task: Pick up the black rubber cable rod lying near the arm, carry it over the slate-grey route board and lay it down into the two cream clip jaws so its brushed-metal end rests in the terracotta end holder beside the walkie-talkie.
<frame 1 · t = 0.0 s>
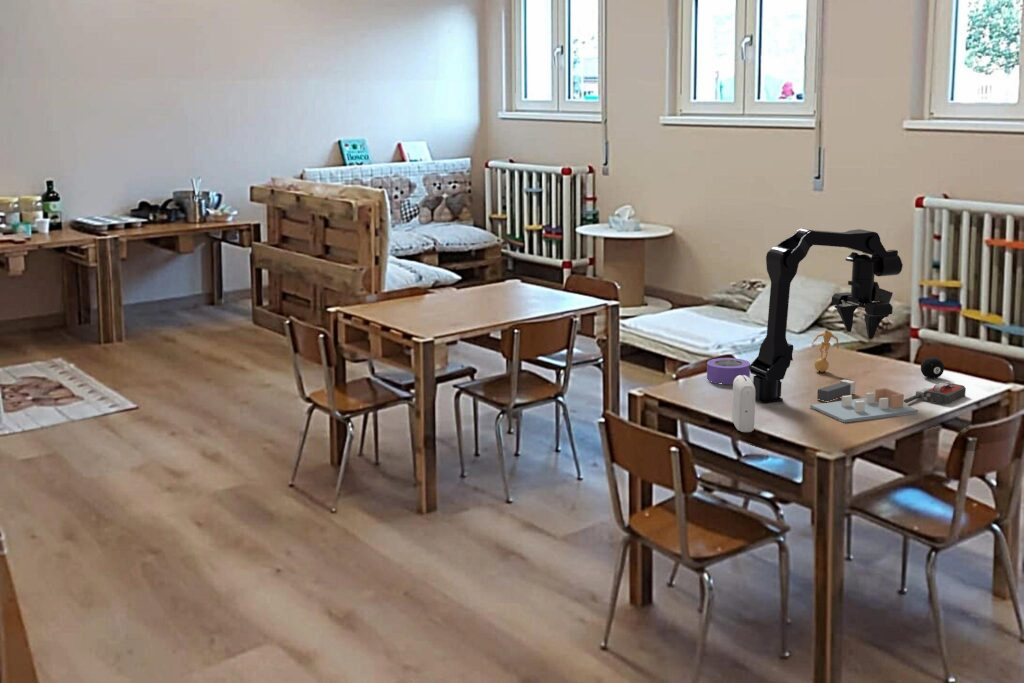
hand: (859, 335, 303), 15 cm above the table, tool pointing down, fingers open, 9 cm apart
figurine: (823, 371, 324), on the table
cable rod: (835, 397, 298), on the table
tape roll: (728, 380, 317), on the table
route board: (863, 410, 286), on the table
end holder: (888, 407, 288), resting on route board
photo printer: (742, 427, 274), on the table
billiard ball: (931, 378, 316), on the table
walkie-talkie: (935, 401, 295), on the table
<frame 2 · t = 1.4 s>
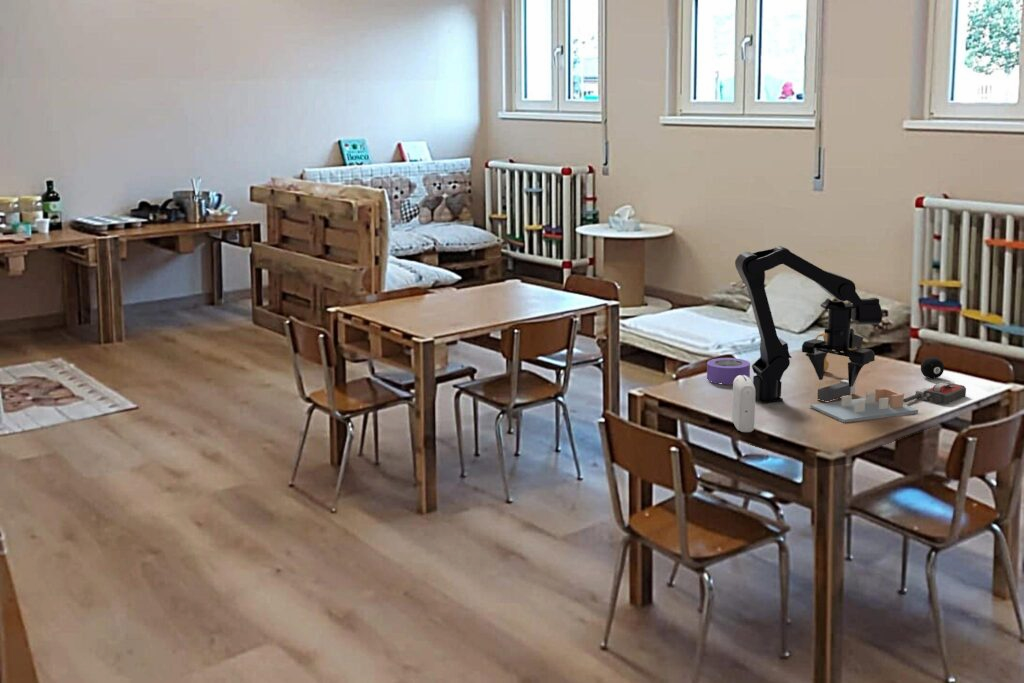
hand: (835, 383, 297), 4 cm above the table, tool pointing down, fingers open, 9 cm apart
nothing on the table moved.
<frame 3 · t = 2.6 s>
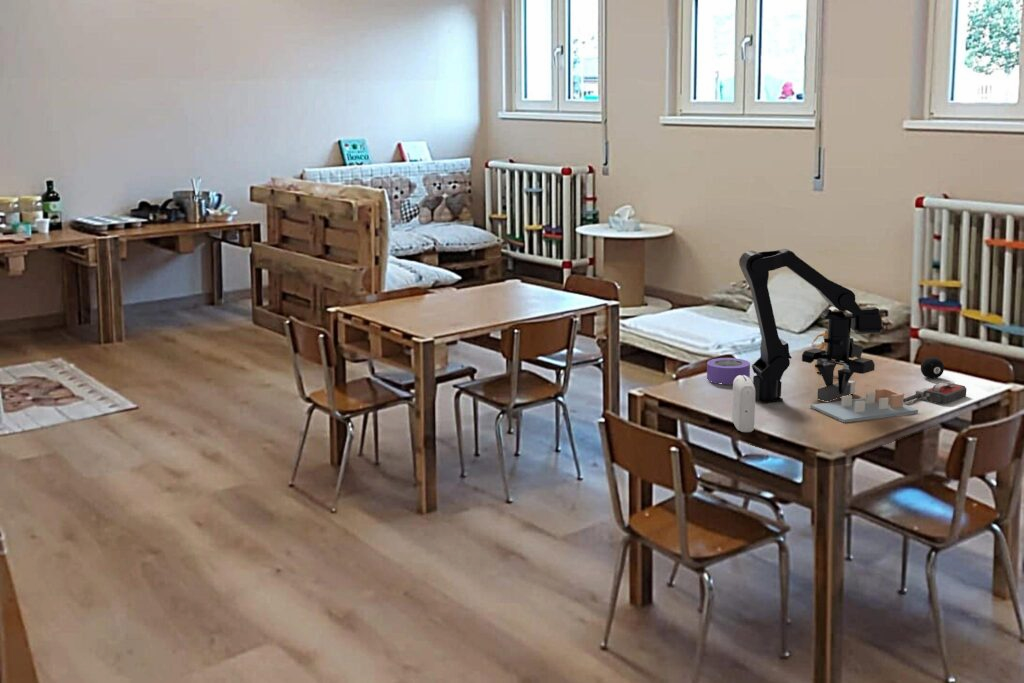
hand: (835, 392, 298), 1 cm above the table, tool pointing down, fingers closed on cable rod, 3 cm apart
cable rod: (835, 397, 298), on the table, touching gripper
everything else where it was.
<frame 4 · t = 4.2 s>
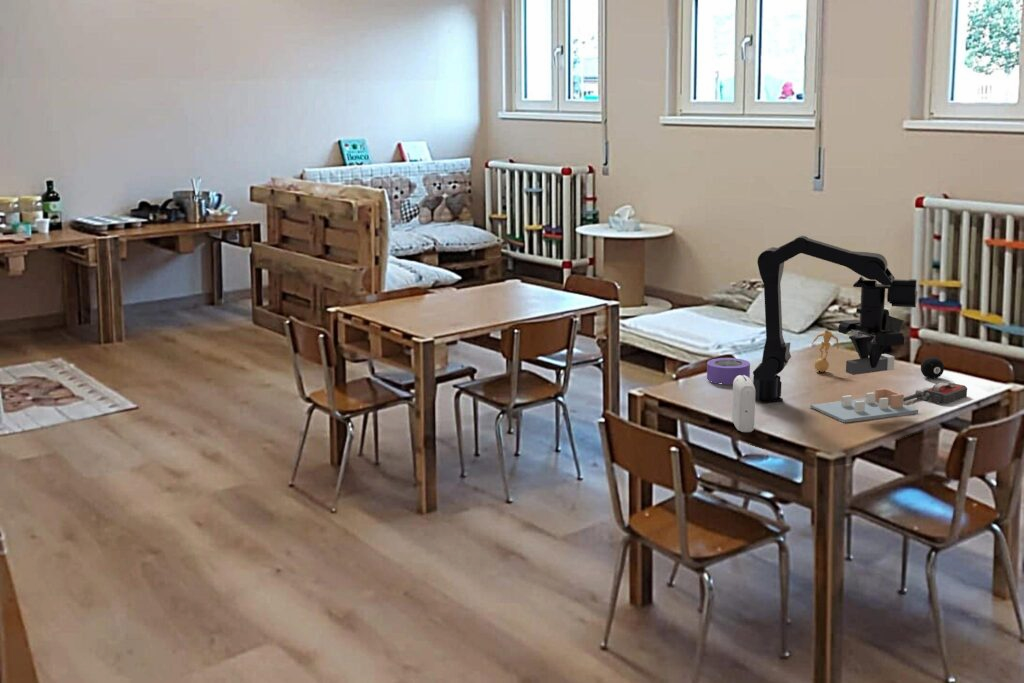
hand: (869, 366, 284), 11 cm above the table, tool pointing down, fingers closed on cable rod, 3 cm apart
cable rod: (869, 370, 285), point 10 cm above the table, touching gripper
everything else where it was.
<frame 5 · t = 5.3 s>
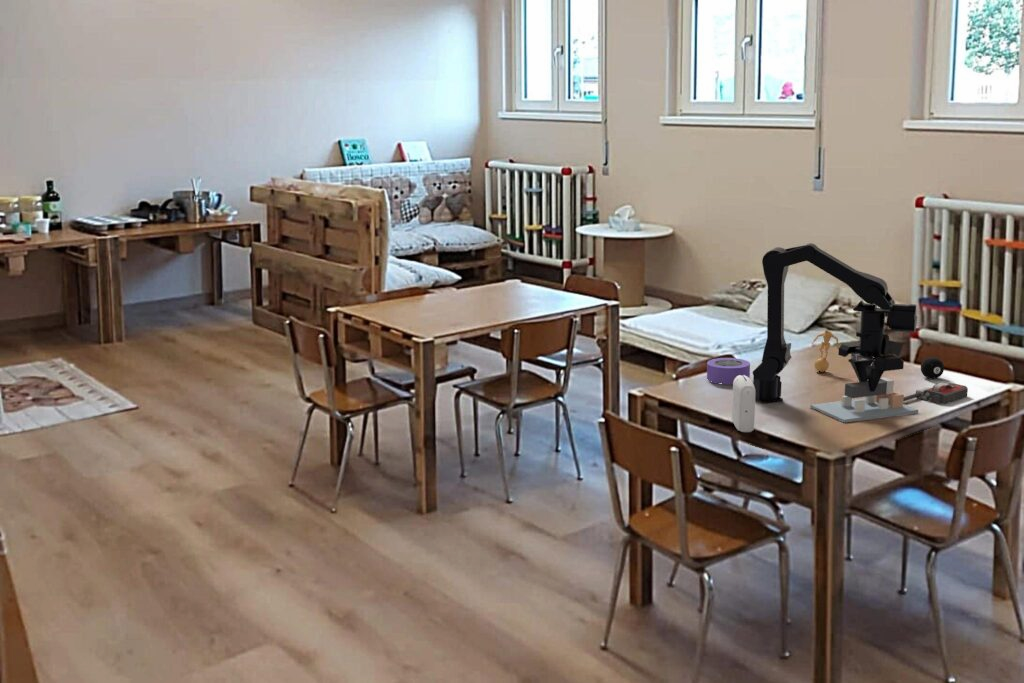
hand: (868, 389, 285), 5 cm above the table, tool pointing down, fingers closed on cable rod, 3 cm apart
cable rod: (868, 394, 285), point 4 cm above the table, touching gripper
everything else where it was.
when the fingers open (3 cm above the table, at t = 6.0 s): cable rod stays where it is, resting on route board.
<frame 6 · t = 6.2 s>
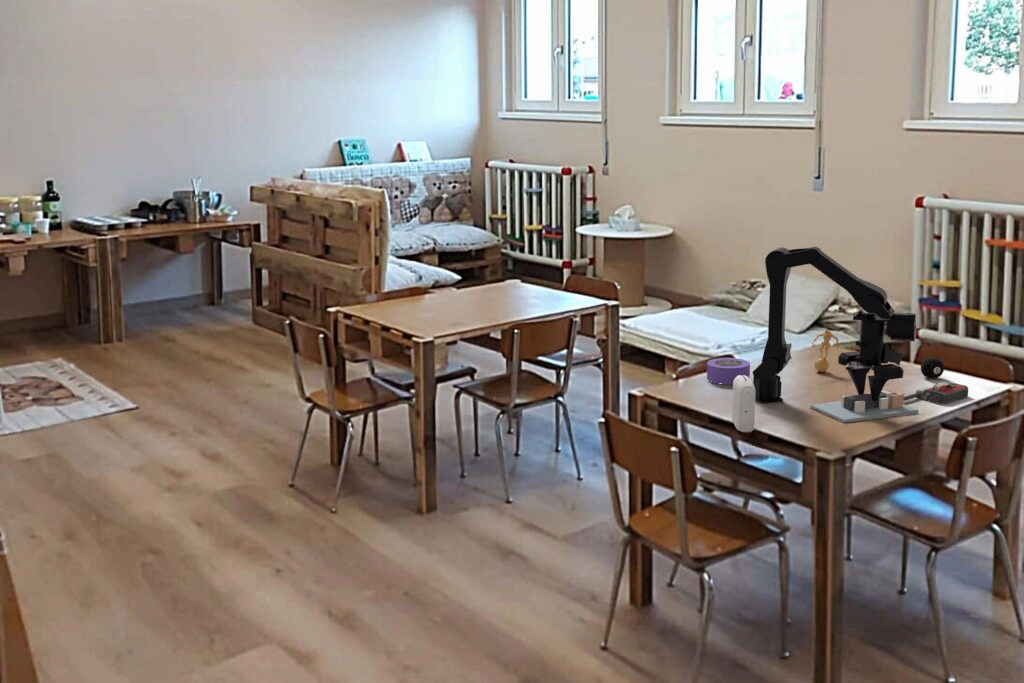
hand: (868, 398, 286), 3 cm above the table, tool pointing down, fingers open, 5 cm apart
cable rod: (867, 406, 286), point 1 cm above the table, touching route board
everything else where it was.
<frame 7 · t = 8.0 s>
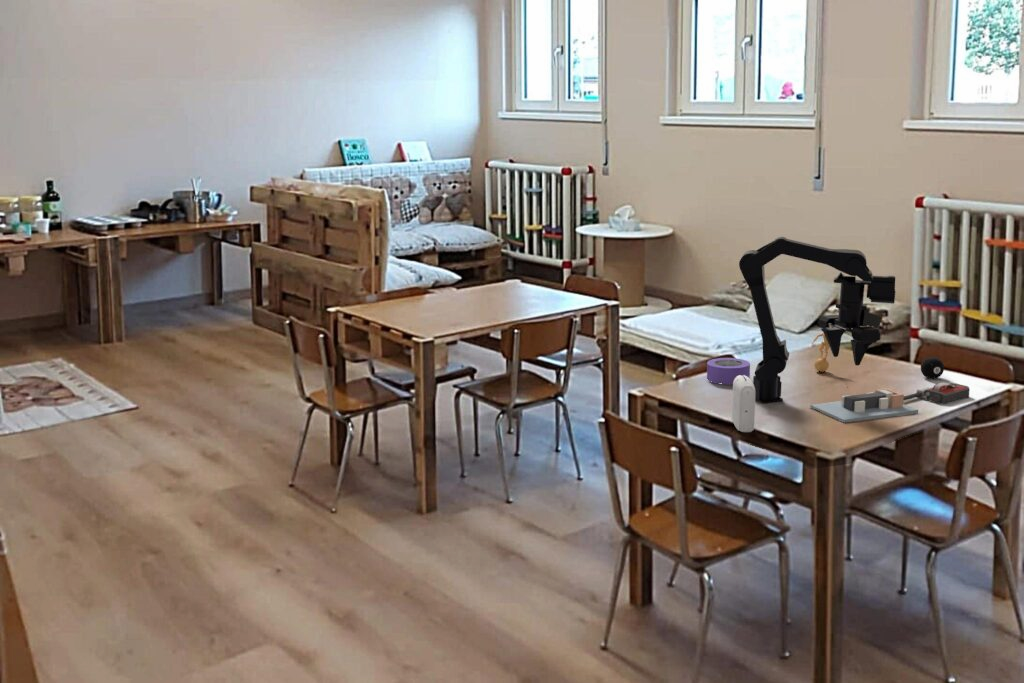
hand: (846, 360, 289), 12 cm above the table, tool pointing down, fingers open, 9 cm apart
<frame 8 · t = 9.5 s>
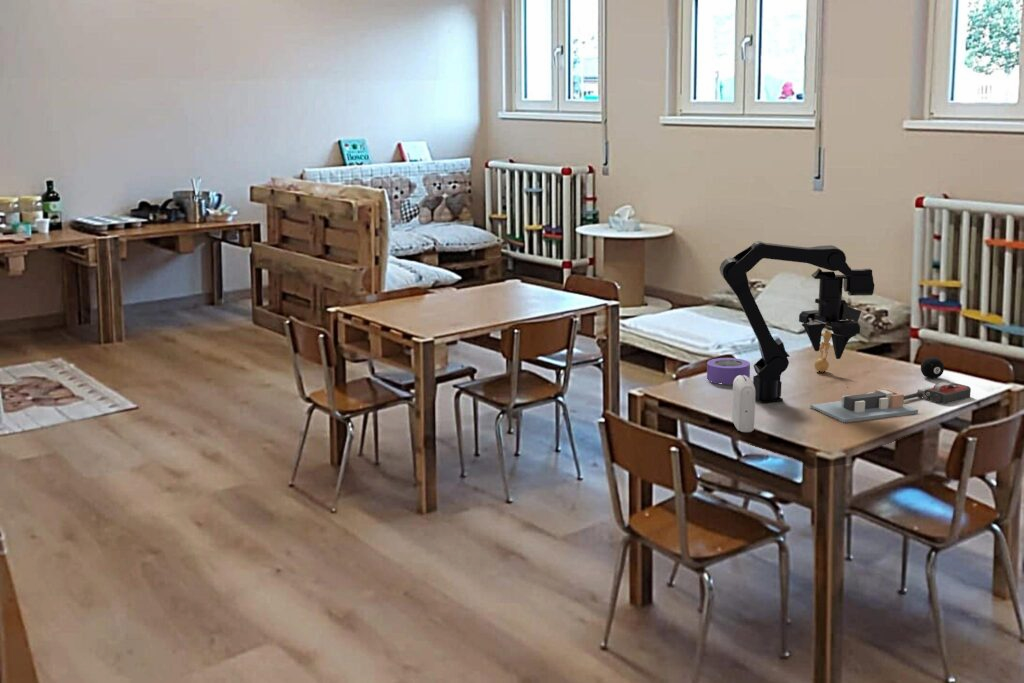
hand: (827, 354, 293), 12 cm above the table, tool pointing down, fingers open, 9 cm apart
at the end: cable rod 0.1 cm from the target spot, point 0.8 cm above the table; cable rod touching route board; the gripper is holding nothing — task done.
